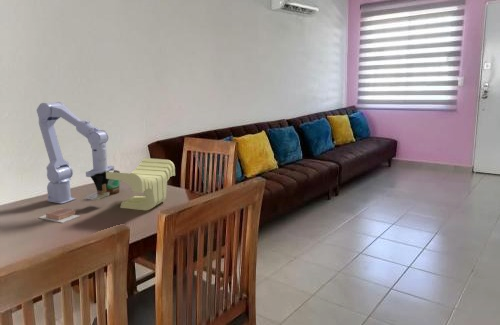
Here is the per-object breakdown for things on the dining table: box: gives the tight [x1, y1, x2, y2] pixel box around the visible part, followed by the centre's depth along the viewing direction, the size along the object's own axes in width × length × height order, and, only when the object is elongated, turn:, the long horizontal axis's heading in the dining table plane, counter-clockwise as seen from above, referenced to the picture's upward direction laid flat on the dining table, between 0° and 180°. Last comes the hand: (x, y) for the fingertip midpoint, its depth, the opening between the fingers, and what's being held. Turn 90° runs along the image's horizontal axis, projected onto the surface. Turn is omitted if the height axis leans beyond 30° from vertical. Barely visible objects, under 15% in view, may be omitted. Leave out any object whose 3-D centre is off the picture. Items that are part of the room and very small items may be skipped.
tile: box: [45, 207, 76, 220], centre depth 158 cm, size 7×2×8 cm
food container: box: [106, 169, 121, 196], centre depth 191 cm, size 12×6×10 cm, turn 168°
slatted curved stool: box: [106, 157, 176, 211], centre depth 172 cm, size 30×16×18 cm, turn 165°
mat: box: [38, 214, 80, 224], centre depth 157 cm, size 13×8×1 cm, turn 66°
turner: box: [84, 183, 110, 201], centre depth 169 cm, size 8×6×5 cm
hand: (101, 189), depth 171 cm, fingers closed on turner, 2 cm apart
